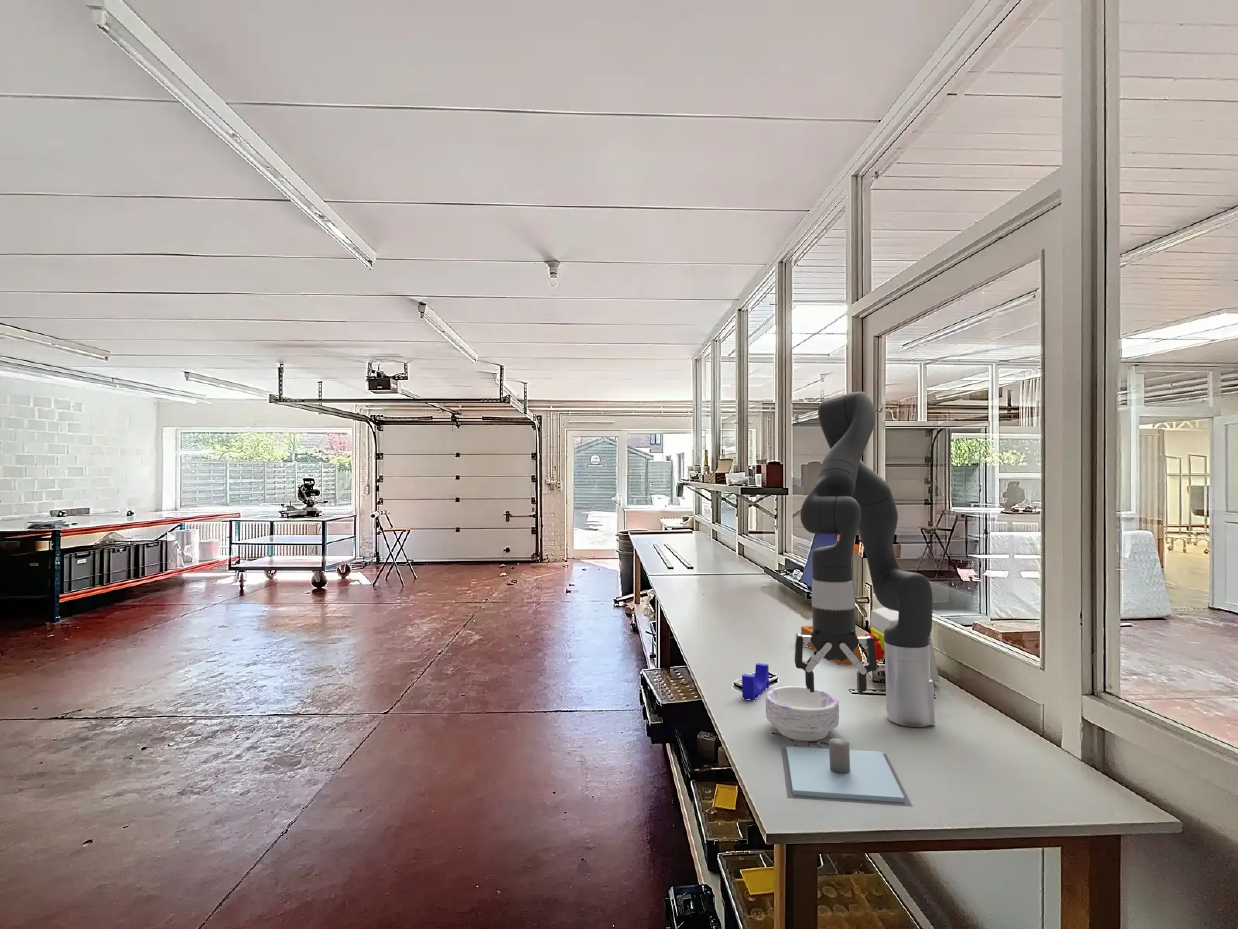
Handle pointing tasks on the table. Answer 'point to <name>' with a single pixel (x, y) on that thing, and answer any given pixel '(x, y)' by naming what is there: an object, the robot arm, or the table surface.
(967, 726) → the table surface
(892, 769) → the mat
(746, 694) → the cable clip
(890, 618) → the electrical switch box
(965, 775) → the table surface
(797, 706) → the paper bowls
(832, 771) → the sheet
